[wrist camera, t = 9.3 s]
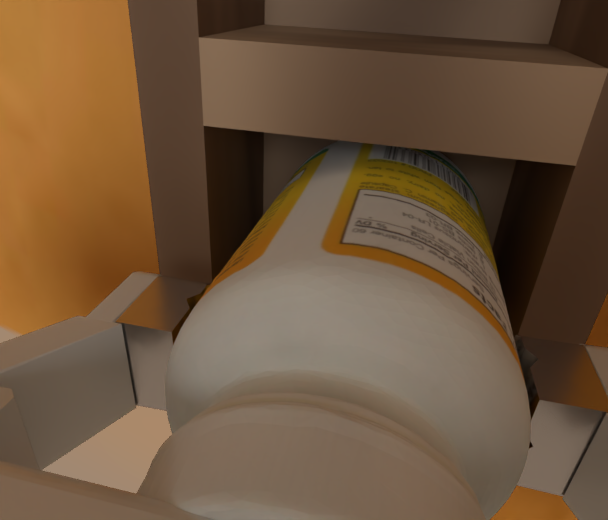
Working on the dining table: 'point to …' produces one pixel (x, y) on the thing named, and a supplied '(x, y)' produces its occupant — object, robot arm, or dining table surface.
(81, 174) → the dining table surface
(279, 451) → the supplement bottle
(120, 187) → the dining table surface
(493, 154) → the small wooden cubby shelf
